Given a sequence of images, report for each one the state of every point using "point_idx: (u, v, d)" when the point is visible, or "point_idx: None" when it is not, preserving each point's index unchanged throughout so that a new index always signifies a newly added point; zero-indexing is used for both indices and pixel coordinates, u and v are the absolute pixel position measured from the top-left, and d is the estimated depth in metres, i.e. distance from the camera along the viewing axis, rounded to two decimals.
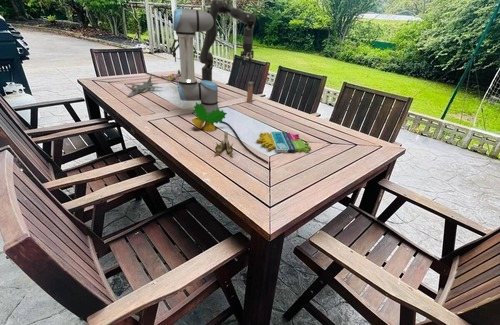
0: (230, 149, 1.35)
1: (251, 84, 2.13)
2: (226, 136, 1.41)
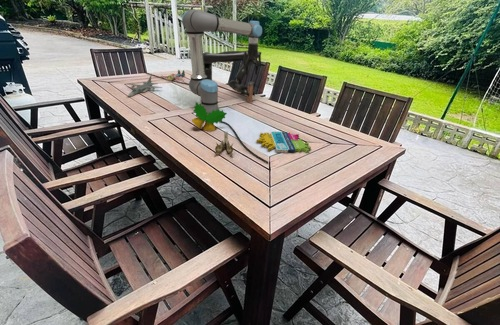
0: (230, 149, 1.35)
1: (251, 84, 2.13)
2: (226, 136, 1.41)
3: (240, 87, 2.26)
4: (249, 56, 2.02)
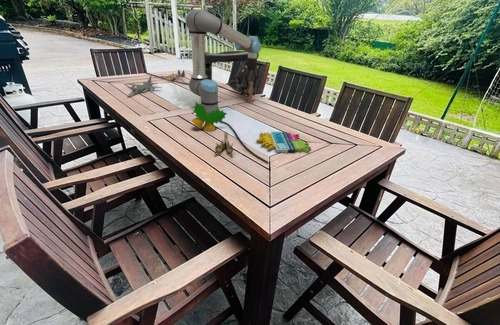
0: (230, 149, 1.35)
1: (251, 84, 2.13)
2: (226, 136, 1.41)
3: (240, 87, 2.26)
4: (249, 70, 2.08)
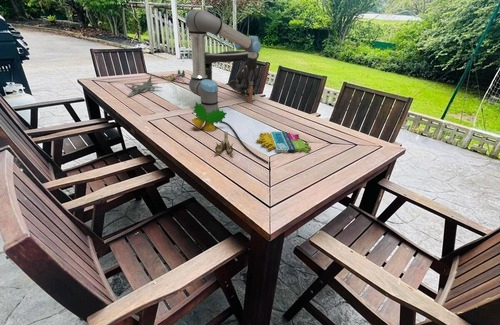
0: (230, 149, 1.35)
1: None
2: (226, 136, 1.41)
3: (240, 87, 2.26)
4: (249, 70, 2.07)
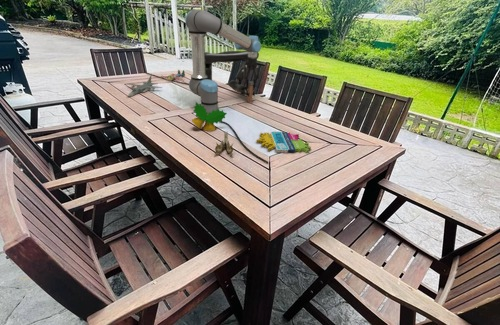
0: (230, 149, 1.35)
1: None
2: (226, 136, 1.41)
3: (240, 87, 2.26)
4: (249, 70, 2.07)
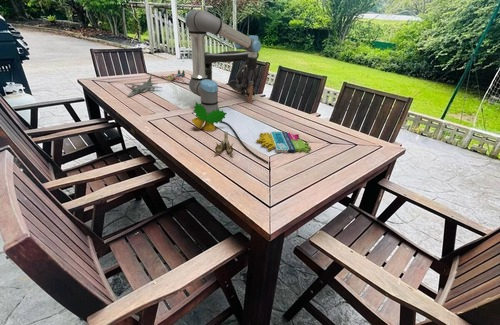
0: (230, 149, 1.35)
1: (250, 83, 2.12)
2: (226, 136, 1.41)
3: (240, 87, 2.26)
4: (249, 69, 2.07)
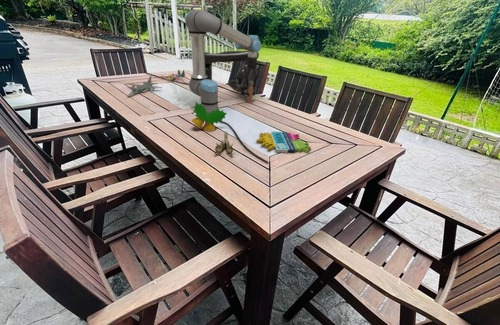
0: (230, 149, 1.35)
1: None
2: (226, 136, 1.41)
3: (240, 87, 2.26)
4: (249, 69, 2.07)
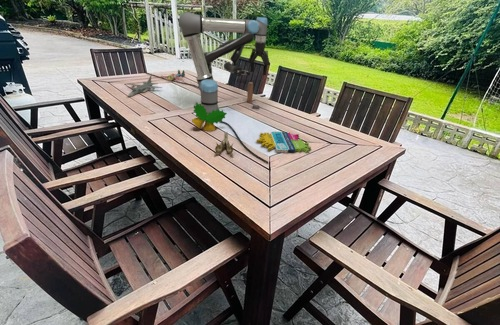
0: (230, 149, 1.35)
1: None
2: (226, 136, 1.41)
3: (234, 68, 2.29)
4: None
